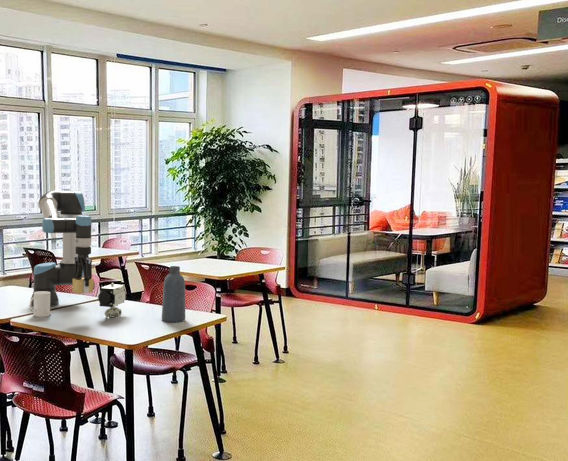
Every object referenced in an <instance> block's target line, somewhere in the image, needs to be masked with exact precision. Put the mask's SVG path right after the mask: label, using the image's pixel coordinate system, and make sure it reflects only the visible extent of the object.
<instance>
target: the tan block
mask: <svg viewBox="0 0 568 461" xmlns="http://www.w3.org/2000/svg"><path fill="white" fill-rule="evenodd" d="M83 279H84V277H83V278H73V285H71V286H72V288H71V289H72V292H71V293H74V294H77V295H81V294H84V293H83ZM95 287H96V283H95V280H94V278H92V279H90V280H89V293H88V294H90V293H94V290H95Z"/></svg>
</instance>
